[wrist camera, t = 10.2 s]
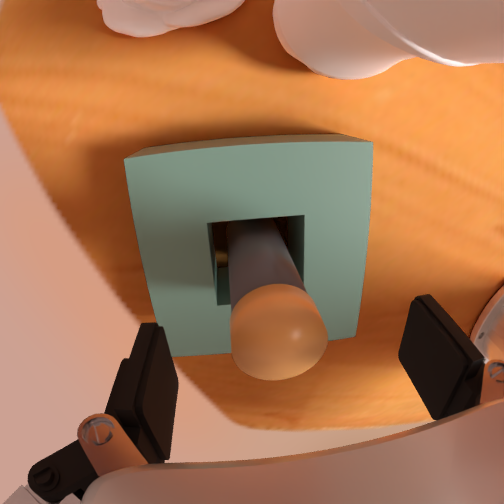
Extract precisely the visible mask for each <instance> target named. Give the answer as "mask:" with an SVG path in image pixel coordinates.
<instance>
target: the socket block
mask: <svg viewBox="0 0 504 504" xmlns="http://www.w3.org/2000/svg"><path fill="white" fill-rule="evenodd" d="M124 165H125V172H126V178H127V185H128V191H129V197H130V203H131V209H132V214H133V220H134V225H135V230H136V236H137V241H138V245H139V250H140V255H141V260H142V264H143V269H144V273H145V277H146V282H147V286H148V290H149V294H150V298H151V302H152V306H153V310H154V314H155V318H156V321H157V323H158V325H159V326H163V328H164V330H165V334H166V338H167V342H168V345H169V349H170V353H171V356H172V357H180V356H197V355H212V354H224V353H231V338H230V316H231V299H230V284H229V268H228V267H221V268H217V263H216V254H215V246H214V237H213V227H212V222H222V221H233V220H244V219H256V218H269V217H281V216H288V252H289V254H290V256H291V258H292V260H293V263H294V265H295V267H296V269H297V271H298V274H299V276H300V278H301V280H302V282H303V285H304V287H305V289H306V291H307V294H308V295H309V296H310V297H311V298H312V299H313V301H314V303H315V305H316V307H317V309H318V311H319V314H320V316H321V318H322V320H323V322H324V325H325V327H326V330H327V333H328V341H332V340H338V339H344V338H350V337H355V336H356V330H357V324H358V317H359V311H360V304H361V297H362V289H363V281H364V273H365V265H366V255H367V245H368V234H369V222H370V208H371V191H372V167H373V142H371V141H367V140H363V139H359V138H355V137H351V136H347V135H343V134H296V135H269V136H251V137H236V138H224V139H213V140H202V141H193V142H184V143H176V144H168V145H161V146H153V147H147V148H143V149H141V150H140V151H138V152H136V153H134V154H132V155H130V156H128V157H126V158H125V159H124Z"/></svg>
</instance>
